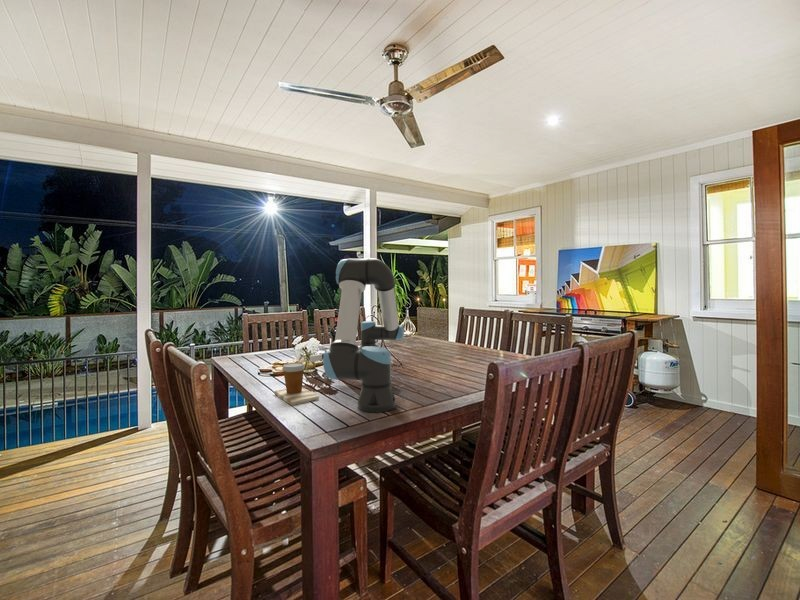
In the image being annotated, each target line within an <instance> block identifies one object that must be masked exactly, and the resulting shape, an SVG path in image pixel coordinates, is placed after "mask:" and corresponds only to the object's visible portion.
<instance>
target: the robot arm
mask: <svg viewBox="0 0 800 600" xmlns="http://www.w3.org/2000/svg"><path fill="white" fill-rule="evenodd" d="M335 281H336V284H337V285H338V287H339V288H340V290H341V293H340V300H339V301H340V302H339V309H338V316H337V323H336V331H335V336H334V337H335V338H334V341H333V342H331V343H330V347H329V349H328V348H327V349H325V351H324V352H320V353H318V354H316V355H315V354H314V355H309V363H314V362H319V361H320V362H322V363H323V364H322V365H323V370H324V373H325V375H326V377H327V378H328V379H332V380H338V381H339V380H349V381H350V380H354V381H355V380H356V381H361V389H360V391H359V392H360V393H359V395H358V399H357V408H358V409H359V410H360V411H362V412H367V413H384V412H388V411H392V410H393V409H395V408H396V406H397V405H396V397H395V394H394V392H393V388H392V360H391V359H392V357H391V352H390V351H389V350H388V349H386V348H384V347H381V346H380V345H379V344H378V343H376V341H402V340H403V339H404V336H405V329H404V326H403V325H400V323H399V317H398V309H397V308H398V307H397V301H396V295H395V287H396V279H395V275H394V274H393V272H392V270H391V269H390V267H389V265H387V264H386V263H385V262H384V261H382V260H380V259H379V258H373V257H370V258H344V259H343V258H342V259H341V260H340V261H339V262H338V263H337V266H336V269H335ZM368 285H372V286H373V285H374V288H375V291H376V292H377V295H378V301H379V307H380V312H381V317H382V323H383V324H376V321H373V320H366V321H365V320H364V321H362V322H361V323H360V325H361V326H360V345H358V344H357V343H356V342H357V334H358V326H359V325H358V324H359V317H360V316H359V315H360V309H361V308H360V307H361V299H362V293H363V292H364V291H365V290H366V286H368Z"/></svg>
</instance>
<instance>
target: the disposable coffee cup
mask: <svg viewBox="0 0 800 600" xmlns="http://www.w3.org/2000/svg"><path fill="white" fill-rule="evenodd" d="M305 368H306V366H305V365H304V363H303V362H289V363H288V362H287V363H284V364H283V365H282V369H281V370H282V371H283V376H284V384H285V389H286V391H287V393H289V394H296V393H300V392H301V391H302V387H303V380H304V372H305Z"/></svg>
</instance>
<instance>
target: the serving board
mask: <svg viewBox="0 0 800 600" xmlns="http://www.w3.org/2000/svg"><path fill="white" fill-rule="evenodd" d="M274 395H275V396H276V395H277V397H278V398H280V400H283V401H284V402H285V403H287V404H289V405H290V406H295V405H300V404H305V403H309V401H310V402H313V400H314V401H318V400H317V399H319V400H320V395H318V394H317V393H314V392H312V391H310V390H309V389H306V388H305V387H303V386H302V391H301V392H300V393H296V394H289V393H287V391H286V388H284V389H278V390H274Z"/></svg>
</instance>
